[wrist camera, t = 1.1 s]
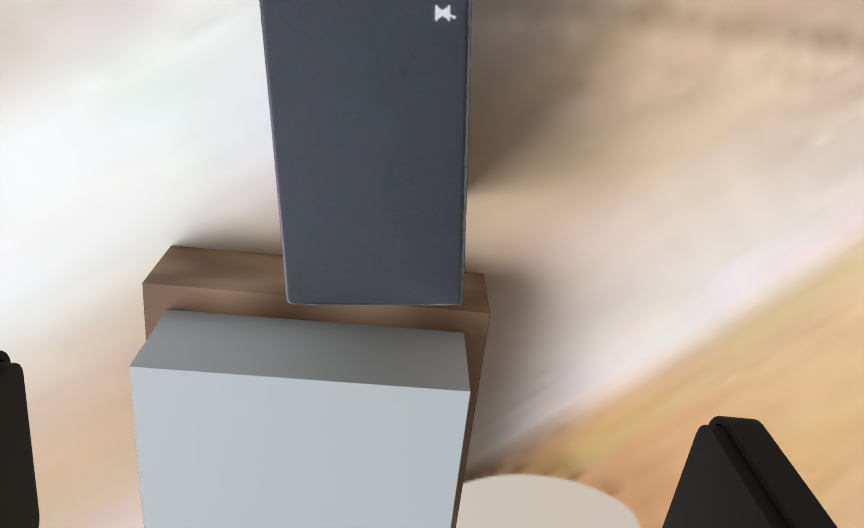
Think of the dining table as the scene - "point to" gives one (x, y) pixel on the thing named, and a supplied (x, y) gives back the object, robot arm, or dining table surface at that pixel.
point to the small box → (370, 147)
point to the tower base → (306, 307)
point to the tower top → (297, 423)
